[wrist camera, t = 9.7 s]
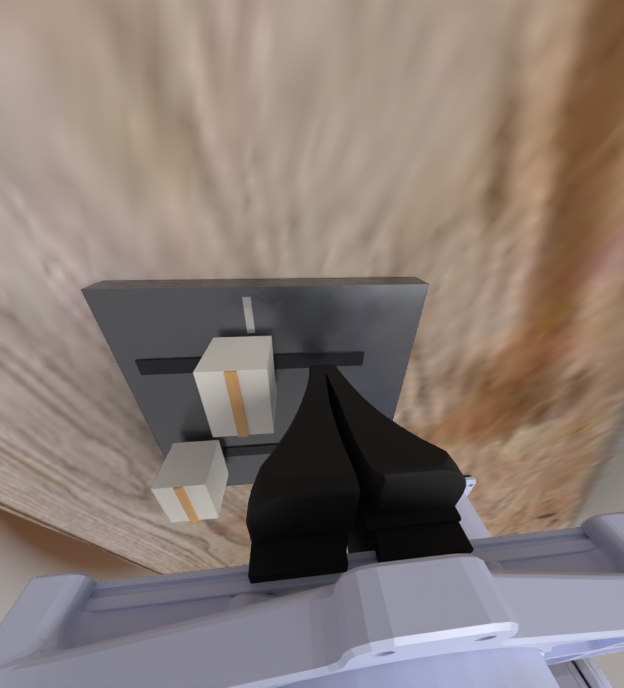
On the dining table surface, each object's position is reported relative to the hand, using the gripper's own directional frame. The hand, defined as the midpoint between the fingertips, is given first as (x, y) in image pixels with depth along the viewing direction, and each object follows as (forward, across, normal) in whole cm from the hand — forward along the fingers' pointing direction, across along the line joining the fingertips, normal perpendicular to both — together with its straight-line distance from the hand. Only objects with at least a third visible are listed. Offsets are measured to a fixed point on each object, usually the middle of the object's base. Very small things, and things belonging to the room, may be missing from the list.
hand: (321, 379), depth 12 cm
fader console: (+3, +3, +4) cm, 6 cm away
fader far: (+1, +8, +8) cm, 12 cm away
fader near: (+1, +4, 0) cm, 4 cm away
